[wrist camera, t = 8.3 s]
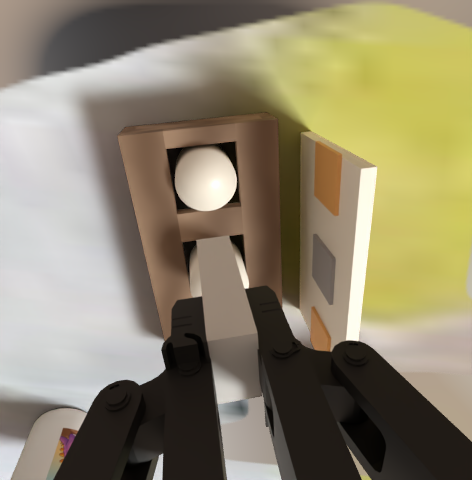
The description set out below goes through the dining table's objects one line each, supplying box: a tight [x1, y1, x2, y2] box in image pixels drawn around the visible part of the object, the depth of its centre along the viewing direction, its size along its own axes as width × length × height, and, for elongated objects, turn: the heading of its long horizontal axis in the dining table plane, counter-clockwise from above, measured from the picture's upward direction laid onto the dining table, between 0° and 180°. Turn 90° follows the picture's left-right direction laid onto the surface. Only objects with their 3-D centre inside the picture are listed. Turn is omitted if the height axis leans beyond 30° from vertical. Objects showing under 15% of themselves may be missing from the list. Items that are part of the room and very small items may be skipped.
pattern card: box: [300, 131, 377, 352], centre depth 31 cm, size 1×20×12 cm, turn 4°
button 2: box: [189, 241, 249, 298], centre depth 30 cm, size 5×5×4 cm
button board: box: [117, 112, 282, 341], centre depth 33 cm, size 12×24×4 cm, turn 5°
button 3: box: [175, 143, 237, 211], centre depth 29 cm, size 5×5×4 cm
